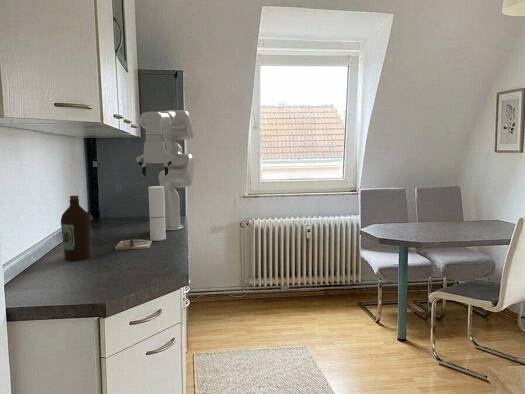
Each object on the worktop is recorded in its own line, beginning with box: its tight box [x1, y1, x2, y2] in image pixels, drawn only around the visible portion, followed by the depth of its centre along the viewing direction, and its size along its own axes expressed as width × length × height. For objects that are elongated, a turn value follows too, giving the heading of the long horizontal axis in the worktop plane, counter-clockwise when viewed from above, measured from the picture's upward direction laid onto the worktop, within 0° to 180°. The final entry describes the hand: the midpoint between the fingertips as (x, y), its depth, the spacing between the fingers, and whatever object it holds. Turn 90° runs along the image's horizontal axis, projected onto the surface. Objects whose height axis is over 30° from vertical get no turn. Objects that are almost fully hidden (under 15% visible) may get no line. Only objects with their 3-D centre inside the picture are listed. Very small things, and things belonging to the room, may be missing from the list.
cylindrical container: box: [148, 185, 167, 242], centre depth 218 cm, size 7×7×25 cm
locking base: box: [114, 233, 153, 251], centre depth 206 cm, size 14×14×4 cm
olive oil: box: [60, 195, 91, 262], centre depth 183 cm, size 11×11×25 cm
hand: (155, 175), depth 216 cm, fingers open, 9 cm apart
